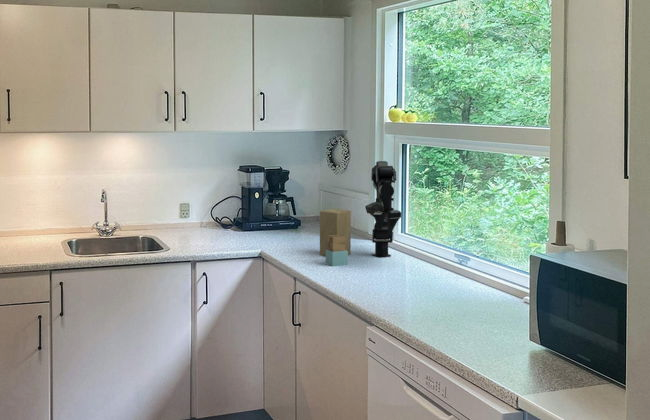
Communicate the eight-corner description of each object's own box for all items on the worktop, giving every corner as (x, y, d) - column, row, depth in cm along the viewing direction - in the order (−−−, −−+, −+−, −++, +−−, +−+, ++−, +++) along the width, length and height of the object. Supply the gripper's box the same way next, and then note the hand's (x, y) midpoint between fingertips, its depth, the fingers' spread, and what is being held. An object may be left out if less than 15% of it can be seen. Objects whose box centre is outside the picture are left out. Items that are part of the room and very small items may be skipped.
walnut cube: (327, 249, 341) (327, 235, 340) (339, 248, 343) (339, 234, 343) (333, 251, 336) (333, 237, 335) (345, 250, 338) (345, 236, 338)
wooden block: (333, 252, 368) (333, 208, 365) (350, 254, 362) (351, 210, 359) (319, 255, 360) (319, 210, 358) (336, 258, 354) (337, 212, 351)
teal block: (325, 263, 342) (325, 249, 341) (340, 262, 345) (340, 248, 344) (332, 266, 336) (332, 252, 335) (347, 265, 339) (347, 251, 338)
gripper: (358, 194, 345) (357, 230, 348) (378, 198, 329) (377, 236, 331) (381, 193, 350) (380, 228, 352) (402, 197, 333) (401, 235, 335)
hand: (384, 232), depth 342 cm, fingers open, 9 cm apart
